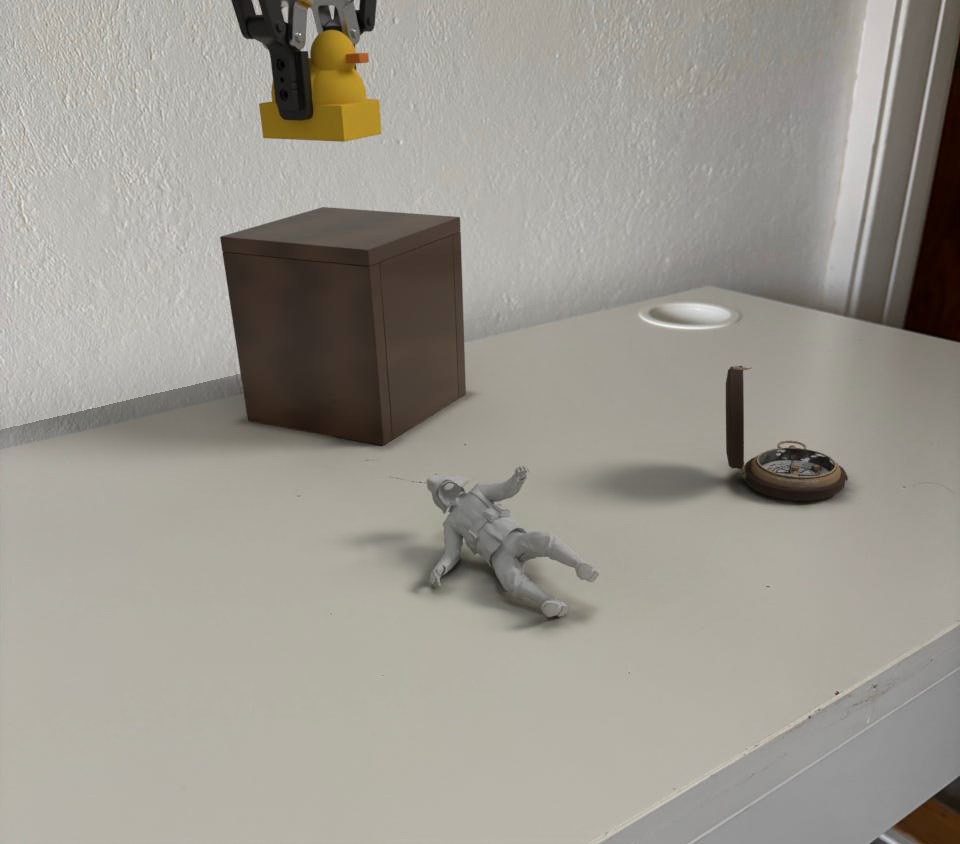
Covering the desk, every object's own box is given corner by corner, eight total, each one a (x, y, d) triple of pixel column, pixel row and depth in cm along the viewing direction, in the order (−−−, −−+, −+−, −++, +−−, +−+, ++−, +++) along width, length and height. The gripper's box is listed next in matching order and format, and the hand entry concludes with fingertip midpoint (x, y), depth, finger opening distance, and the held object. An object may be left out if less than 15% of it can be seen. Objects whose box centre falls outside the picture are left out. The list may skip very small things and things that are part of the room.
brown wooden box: (247, 420, 76) (219, 236, 70) (339, 374, 85) (322, 206, 78) (383, 445, 72) (368, 250, 65) (466, 393, 80) (460, 216, 74)
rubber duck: (262, 138, 66) (249, 31, 63) (302, 130, 69) (291, 29, 66) (351, 142, 63) (341, 30, 60) (388, 134, 66) (381, 28, 63)
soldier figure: (504, 658, 50) (360, 515, 55) (540, 676, 54) (403, 542, 60) (611, 537, 49) (454, 403, 54) (639, 564, 53) (491, 438, 59)
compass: (850, 507, 61) (872, 387, 57) (715, 499, 63) (727, 382, 59) (839, 456, 68) (857, 346, 64) (716, 450, 69) (727, 342, 66)
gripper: (309, -208, 64) (336, 104, 73) (142, -243, 53) (199, 126, 62) (412, -221, 60) (427, 106, 70) (257, -262, 50) (299, 130, 59)
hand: (319, 114), depth 66 cm, fingers closed on rubber duck, 4 cm apart
